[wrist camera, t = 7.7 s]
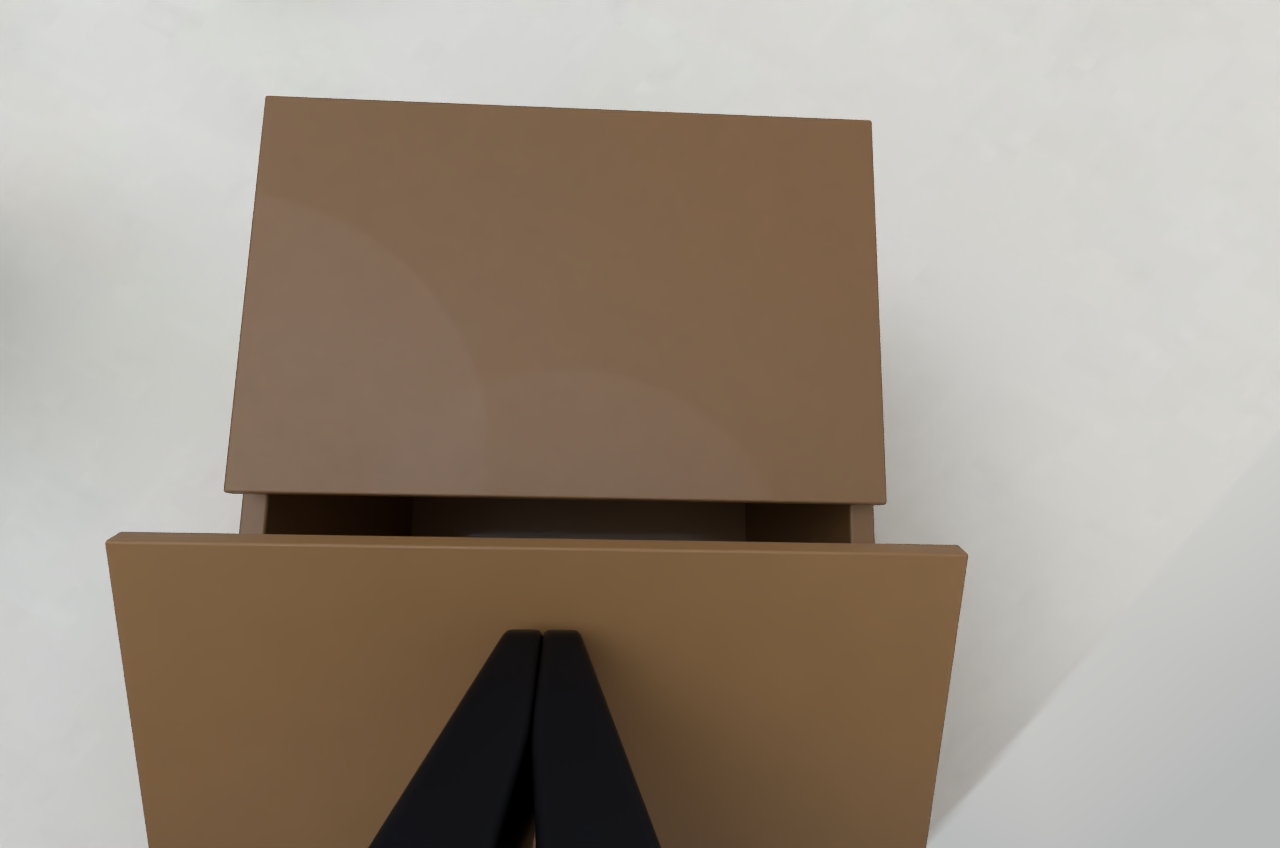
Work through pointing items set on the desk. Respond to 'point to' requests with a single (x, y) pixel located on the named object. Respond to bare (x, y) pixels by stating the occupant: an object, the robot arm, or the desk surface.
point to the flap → (542, 599)
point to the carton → (559, 326)
